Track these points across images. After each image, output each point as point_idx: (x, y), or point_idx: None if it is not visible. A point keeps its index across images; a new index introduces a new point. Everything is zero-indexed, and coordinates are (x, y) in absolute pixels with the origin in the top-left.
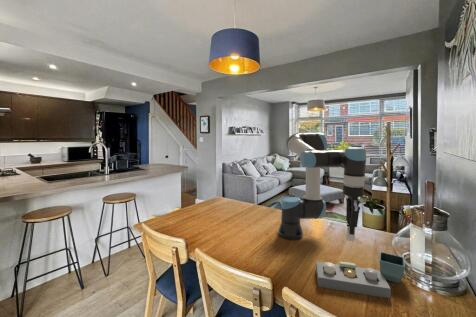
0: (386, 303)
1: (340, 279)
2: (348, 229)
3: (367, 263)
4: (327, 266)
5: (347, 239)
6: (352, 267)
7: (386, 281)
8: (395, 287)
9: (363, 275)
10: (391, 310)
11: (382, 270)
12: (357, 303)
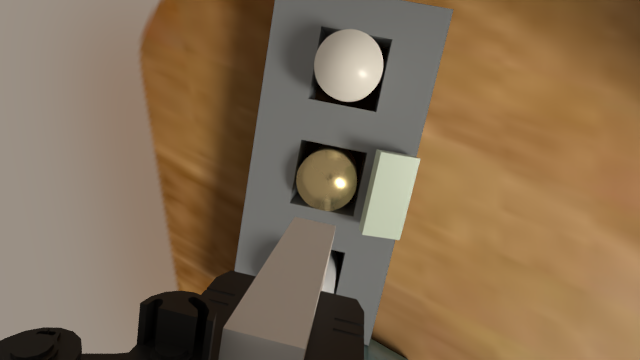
0: (214, 259)
1: (270, 106)
2: (247, 293)
3: (499, 333)
4: (331, 45)
5: (292, 222)
6: (363, 212)
7: None
8: None
9: None
10: (180, 256)
11: None
12: (198, 145)
